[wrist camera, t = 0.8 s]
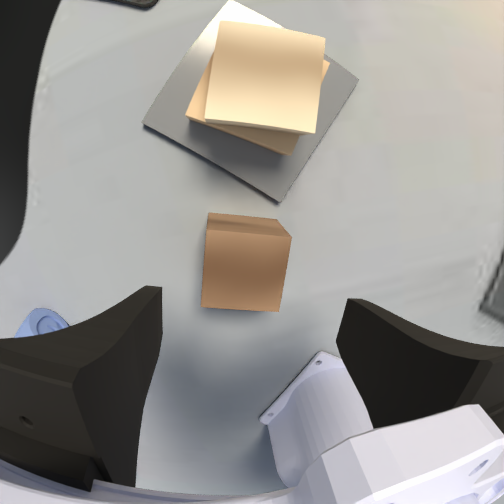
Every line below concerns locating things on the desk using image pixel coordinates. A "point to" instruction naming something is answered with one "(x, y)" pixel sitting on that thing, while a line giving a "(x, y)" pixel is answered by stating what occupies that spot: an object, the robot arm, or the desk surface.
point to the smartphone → (139, 2)
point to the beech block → (265, 78)
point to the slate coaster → (226, 145)
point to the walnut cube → (244, 263)
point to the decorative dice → (40, 323)
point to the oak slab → (263, 138)
